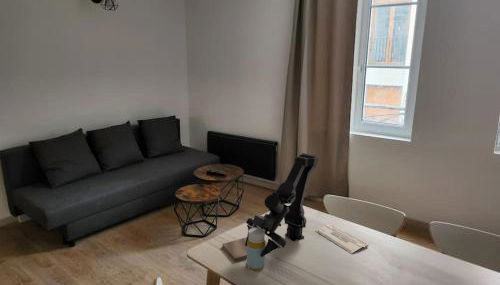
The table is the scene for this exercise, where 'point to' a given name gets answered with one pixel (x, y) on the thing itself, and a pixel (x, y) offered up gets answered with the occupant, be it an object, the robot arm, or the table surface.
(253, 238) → the bottle
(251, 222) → the robot arm
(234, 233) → the table surface
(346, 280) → the table surface
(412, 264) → the table surface
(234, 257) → the brown rectangular board
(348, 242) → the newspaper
